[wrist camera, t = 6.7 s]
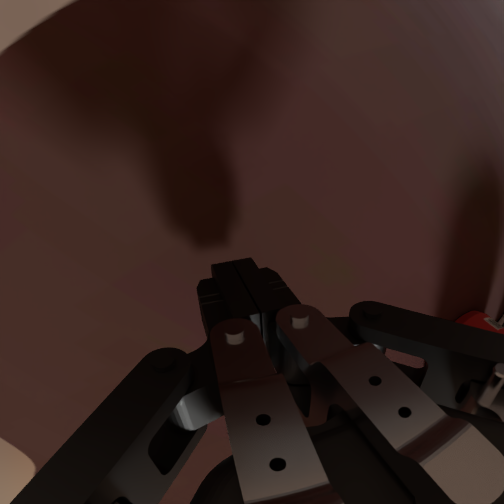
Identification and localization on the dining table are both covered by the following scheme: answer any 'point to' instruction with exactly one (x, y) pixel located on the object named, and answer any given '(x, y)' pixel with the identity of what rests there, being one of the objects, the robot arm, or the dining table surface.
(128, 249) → the dining table surface
